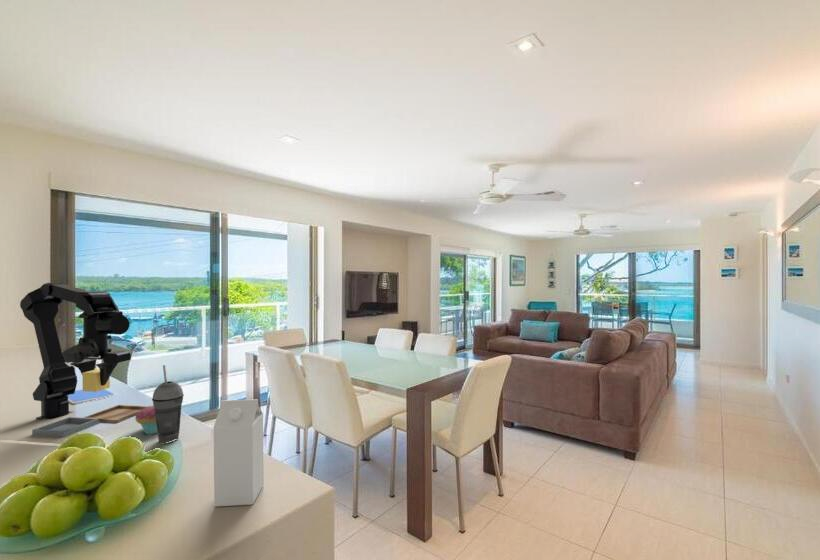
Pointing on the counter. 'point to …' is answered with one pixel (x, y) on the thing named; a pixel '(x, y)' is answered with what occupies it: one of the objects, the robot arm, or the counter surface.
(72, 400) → the tablet computer
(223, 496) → the milk carton
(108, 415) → the tray
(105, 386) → the block
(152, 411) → the cupcake
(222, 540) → the counter surface
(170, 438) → the beverage cup
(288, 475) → the counter surface
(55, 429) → the dish
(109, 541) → the counter surface
